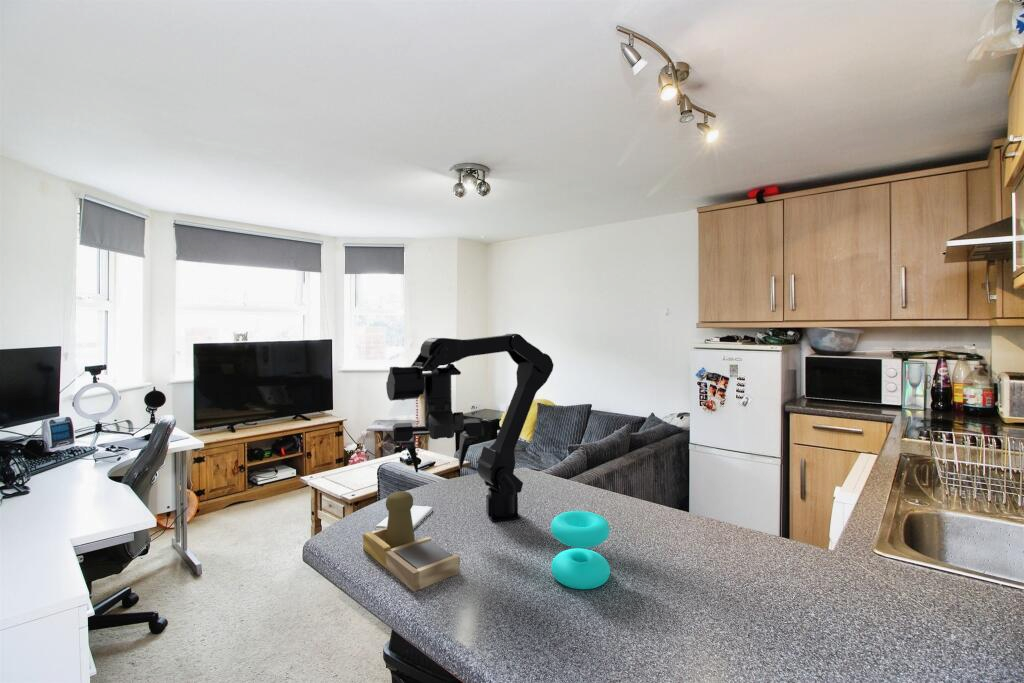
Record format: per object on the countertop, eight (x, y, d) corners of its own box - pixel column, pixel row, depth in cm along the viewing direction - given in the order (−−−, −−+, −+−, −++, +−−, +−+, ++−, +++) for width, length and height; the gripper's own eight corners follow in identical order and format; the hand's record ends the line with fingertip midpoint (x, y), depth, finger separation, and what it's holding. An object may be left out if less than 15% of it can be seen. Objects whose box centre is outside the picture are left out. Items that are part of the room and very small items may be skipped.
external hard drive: (433, 513, 111) (410, 535, 99) (401, 511, 113) (375, 532, 101) (433, 506, 111) (410, 528, 99) (401, 504, 113) (375, 524, 101)
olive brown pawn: (401, 540, 95) (400, 486, 95) (422, 547, 92) (421, 491, 92) (377, 551, 90) (376, 494, 90) (399, 559, 87) (398, 500, 87)
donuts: (554, 506, 86) (610, 510, 84) (555, 560, 87) (610, 565, 84) (546, 528, 77) (609, 533, 74) (547, 589, 77) (609, 596, 75)
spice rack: (405, 535, 98) (404, 519, 98) (459, 572, 82) (459, 553, 82) (362, 549, 92) (362, 531, 92) (413, 591, 76) (413, 570, 76)
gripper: (393, 404, 89) (394, 486, 90) (489, 399, 94) (490, 477, 95) (392, 397, 100) (393, 469, 100) (478, 393, 105) (479, 462, 105)
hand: (438, 470), depth 100 cm, fingers open, 9 cm apart
